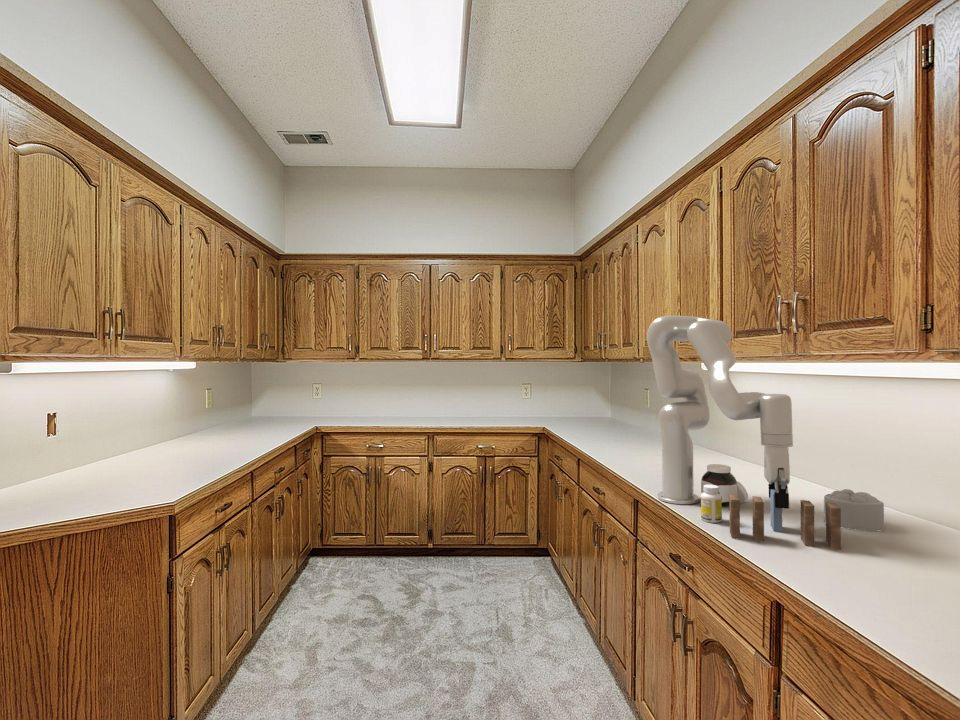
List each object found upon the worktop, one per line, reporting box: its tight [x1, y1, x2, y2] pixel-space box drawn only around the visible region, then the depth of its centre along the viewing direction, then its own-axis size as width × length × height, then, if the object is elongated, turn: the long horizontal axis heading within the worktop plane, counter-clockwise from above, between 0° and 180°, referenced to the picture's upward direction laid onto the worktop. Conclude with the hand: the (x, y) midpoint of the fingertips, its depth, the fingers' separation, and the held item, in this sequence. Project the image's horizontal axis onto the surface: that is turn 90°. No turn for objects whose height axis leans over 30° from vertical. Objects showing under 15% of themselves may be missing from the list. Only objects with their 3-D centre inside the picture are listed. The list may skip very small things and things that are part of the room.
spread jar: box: [700, 463, 749, 507], centre depth 165 cm, size 12×11×12 cm
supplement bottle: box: [700, 485, 723, 524], centre depth 148 cm, size 5×5×10 cm
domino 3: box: [800, 499, 816, 547], centre depth 130 cm, size 2×5×10 cm, turn 159°
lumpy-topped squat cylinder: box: [823, 488, 885, 532], centre depth 143 cm, size 10×13×9 cm
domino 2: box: [751, 496, 765, 542], centre depth 134 cm, size 2×5×10 cm, turn 159°
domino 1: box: [728, 495, 741, 539], centre depth 136 cm, size 2×5×10 cm, turn 159°
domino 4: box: [825, 502, 842, 550], centre depth 128 cm, size 2×5×10 cm, turn 159°
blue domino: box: [769, 489, 783, 533], centre depth 140 cm, size 2×5×10 cm, turn 159°
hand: (778, 503), depth 140 cm, fingers open, 9 cm apart
